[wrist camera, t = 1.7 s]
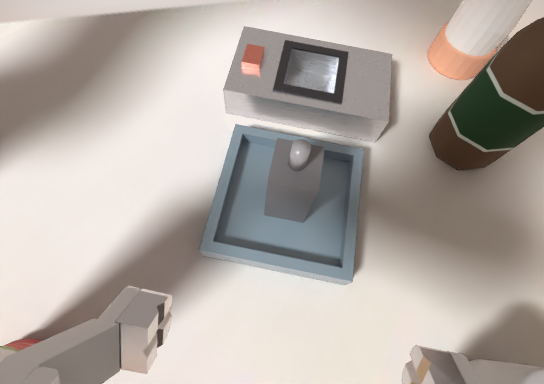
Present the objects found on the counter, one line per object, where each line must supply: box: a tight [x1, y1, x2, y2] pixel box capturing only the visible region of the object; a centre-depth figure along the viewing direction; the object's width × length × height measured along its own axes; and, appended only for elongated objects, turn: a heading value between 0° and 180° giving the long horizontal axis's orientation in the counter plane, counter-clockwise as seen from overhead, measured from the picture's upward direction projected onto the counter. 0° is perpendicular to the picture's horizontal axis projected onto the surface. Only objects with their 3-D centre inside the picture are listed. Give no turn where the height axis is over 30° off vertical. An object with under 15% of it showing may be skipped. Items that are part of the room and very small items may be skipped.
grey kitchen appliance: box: [223, 26, 392, 142], centre depth 37 cm, size 18×10×5 cm, turn 79°
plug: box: [264, 138, 325, 223], centre depth 28 cm, size 4×4×10 cm
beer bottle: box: [429, 18, 544, 170], centre depth 27 cm, size 8×8×24 cm
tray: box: [199, 124, 364, 285], centre depth 32 cm, size 14×14×2 cm
